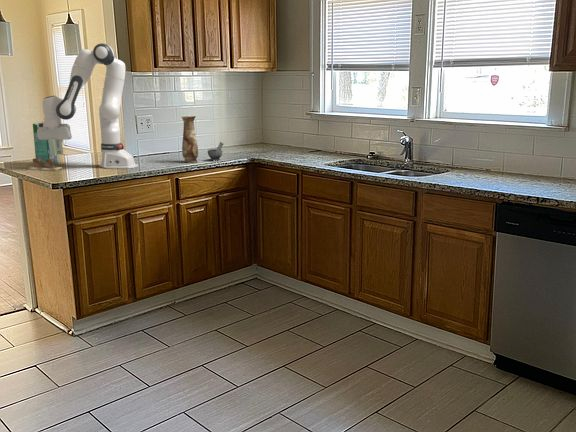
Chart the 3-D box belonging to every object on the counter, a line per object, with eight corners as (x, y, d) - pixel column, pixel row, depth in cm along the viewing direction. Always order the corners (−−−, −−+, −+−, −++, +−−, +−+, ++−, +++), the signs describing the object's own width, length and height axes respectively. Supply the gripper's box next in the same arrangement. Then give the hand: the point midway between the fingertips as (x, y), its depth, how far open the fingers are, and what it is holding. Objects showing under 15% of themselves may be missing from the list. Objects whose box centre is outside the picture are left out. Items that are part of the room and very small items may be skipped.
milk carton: (49, 165, 350) (45, 123, 344) (36, 164, 351) (32, 123, 345) (57, 163, 358) (54, 122, 352) (45, 162, 360) (41, 122, 354)
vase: (200, 162, 369) (199, 115, 362) (184, 163, 364) (183, 116, 357) (195, 160, 378) (194, 114, 371) (179, 161, 373) (178, 115, 366)
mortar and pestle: (211, 161, 374) (211, 143, 371) (205, 160, 382) (205, 142, 379) (226, 160, 380) (226, 142, 377) (220, 159, 388) (220, 141, 385)
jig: (62, 168, 337) (61, 158, 335) (55, 170, 330) (54, 160, 329) (33, 167, 339) (32, 157, 338) (26, 169, 332) (25, 159, 331)
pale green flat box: (58, 153, 346) (56, 137, 343) (63, 153, 346) (61, 137, 343) (50, 156, 337) (48, 139, 335) (55, 156, 337) (53, 139, 334)
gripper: (72, 123, 338) (75, 146, 342) (40, 123, 341) (43, 146, 345) (66, 124, 332) (69, 147, 336) (34, 124, 335) (37, 148, 339)
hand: (56, 147), depth 340 cm, fingers closed on pale green flat box, 3 cm apart
